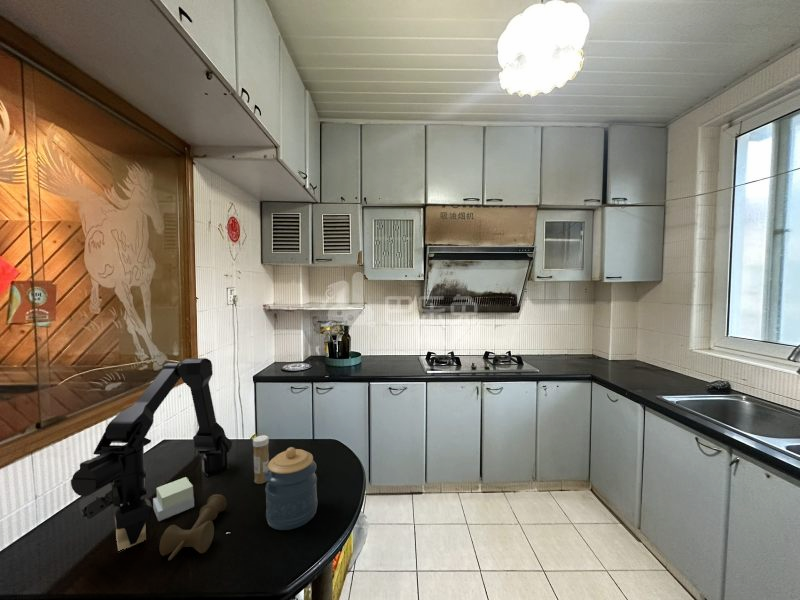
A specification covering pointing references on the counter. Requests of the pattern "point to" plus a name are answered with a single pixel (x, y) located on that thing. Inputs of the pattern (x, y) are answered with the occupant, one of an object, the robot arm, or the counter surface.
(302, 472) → the canister
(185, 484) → the sage block
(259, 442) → the sprinkles bottle
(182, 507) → the base block
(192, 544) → the kendama
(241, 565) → the counter surface
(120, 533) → the maple cube
